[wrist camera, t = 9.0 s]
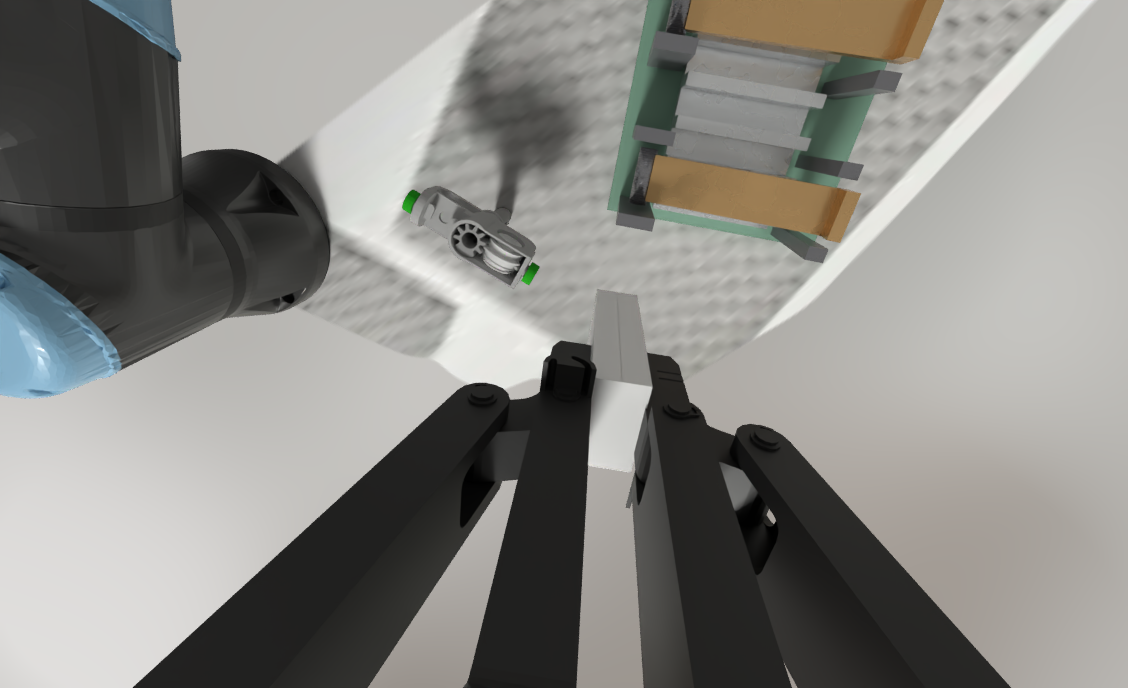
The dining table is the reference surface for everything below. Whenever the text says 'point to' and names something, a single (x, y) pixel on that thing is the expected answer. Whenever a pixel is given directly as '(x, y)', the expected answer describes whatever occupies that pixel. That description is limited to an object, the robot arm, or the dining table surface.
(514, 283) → the mechanical component
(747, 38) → the strap
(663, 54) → the set of grey pegs
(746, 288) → the dining table surface
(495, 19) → the dining table surface
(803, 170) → the socket board
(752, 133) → the heatsink
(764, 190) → the strap
